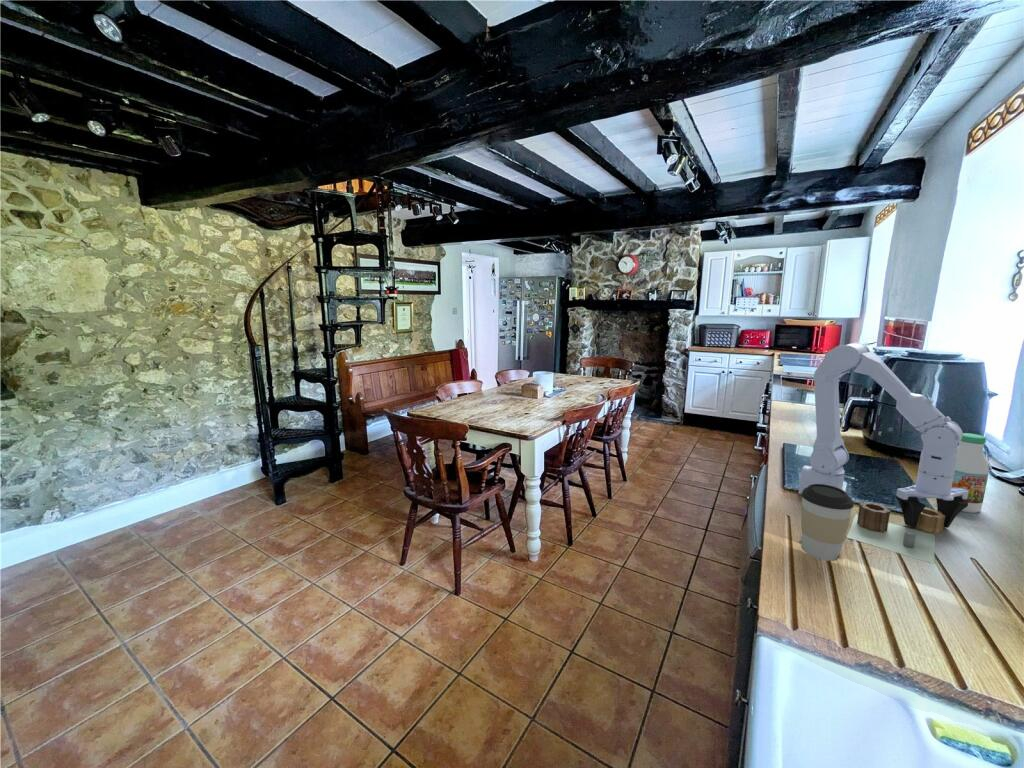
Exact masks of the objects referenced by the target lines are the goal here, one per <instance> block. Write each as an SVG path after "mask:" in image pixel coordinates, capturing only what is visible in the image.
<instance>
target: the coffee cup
mask: <svg viewBox="0 0 1024 768" xmlns="http://www.w3.org/2000/svg"><path fill="white" fill-rule="evenodd" d="M800 495H801V497H802V498H801V499H802V500H801V503H800V504H801V505H800V506H801V507H800V515H801V517H800V522H801V523H800V528H801V529H800V530H801V549H802V550H803V552H804V553H806V554H808V555H809V556H811V557H813V558H815V559H817V560H823V561H831V562H833V561H838V560H839V559H840V554H841V552H842V547H843V544H844V542H845V540H846V539H845V538H846V537H847V533H848V528H849V525H850V522H851V514H852V513H851V512H852V509H853V508H854V506H855V505H854V503H853V499H852V498H851V497H850V496H849V495H848V493H847V491H845V490H843V488H842V489H839V488H837V487H834V486H830V485H825V484H812V485H809V486H808V487H806V488H804V489H803V492H802V493H801V494H800Z"/></svg>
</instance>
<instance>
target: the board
mask: <svg viewBox="0 0 1024 768" xmlns="http://www.w3.org/2000/svg"><path fill="white" fill-rule="evenodd" d="M857 520H858V514H857V513H856V514H855V515H854V518H853V520H852V523H851V525H850V528H849V530H848V532H847V534H846V539H847V538H848V539H850V540H853V541H857V542H860V543H863V544H867V545H870V546H874V547H876V548H877V547H878V548H881V549H884V550H887V551H890V552H893V553H897V554H900V555H904V556H907V557H911V558H913V559H917V560H920V561H922V562H925V563H929V564H933V565H934V564H935V549H936V548H935V546H936V545H935V541H936V539H935V537H936V536H935V534H934V533H933V534H932V533H929V532H926V531H923V530H919V529H915V528H911V527H908V526H907V527H906V526H904V525H903V526H902V525H899V524H896V523H891V522H888V528H887V531H884V532H883V533H880V532H876V531H870V530H868V529H865V528H862V527H860V526H859V524H858V523H857Z"/></svg>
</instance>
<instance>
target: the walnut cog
mask: <svg viewBox="0 0 1024 768" xmlns="http://www.w3.org/2000/svg"><path fill="white" fill-rule="evenodd" d="M890 515H891V510H890V509H889V507H887V506H885V505H881V504H879V503H875V502H868V501H863V502H860V503H859V507H858V520H857V523H858V524H859V526H860V527H862V528H865V529H868V530H870V531H876V532H880V533H883V532H884V531H887V528H888V523H890V522H889V521H890V517H891V516H890Z"/></svg>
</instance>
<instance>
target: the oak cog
mask: <svg viewBox="0 0 1024 768" xmlns="http://www.w3.org/2000/svg"><path fill="white" fill-rule="evenodd" d="M944 520H945V515H943V514H942V513H941V512H939V511H937V510H935V509H932V508H930V507H925V508H924V509H923V510H922V512H921V514H920V516H919V519H918V523H917V526H916V528H915V529H918V530H920V531H922V532H925V533H929V532H930V533H933V534H940V533H943V529H944V527H943V525H944Z"/></svg>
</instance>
